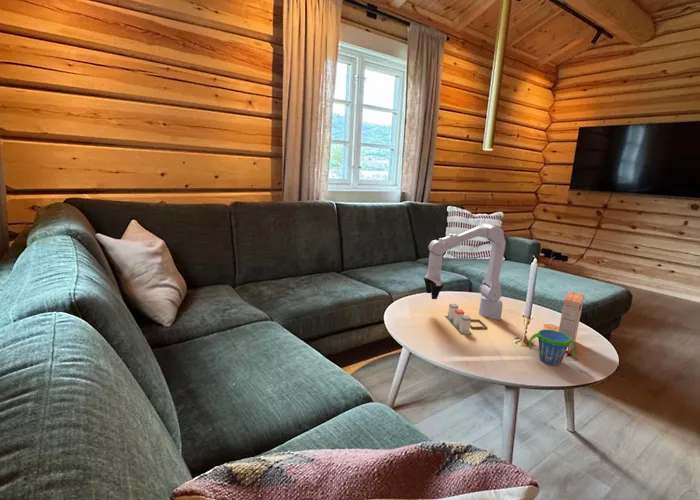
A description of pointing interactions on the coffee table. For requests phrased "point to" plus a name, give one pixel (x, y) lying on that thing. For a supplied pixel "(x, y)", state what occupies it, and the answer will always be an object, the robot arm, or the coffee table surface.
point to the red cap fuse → (458, 316)
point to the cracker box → (571, 316)
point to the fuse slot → (465, 323)
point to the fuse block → (458, 327)
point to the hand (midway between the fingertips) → (431, 295)
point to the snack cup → (552, 346)
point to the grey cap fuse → (452, 310)
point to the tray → (479, 322)
